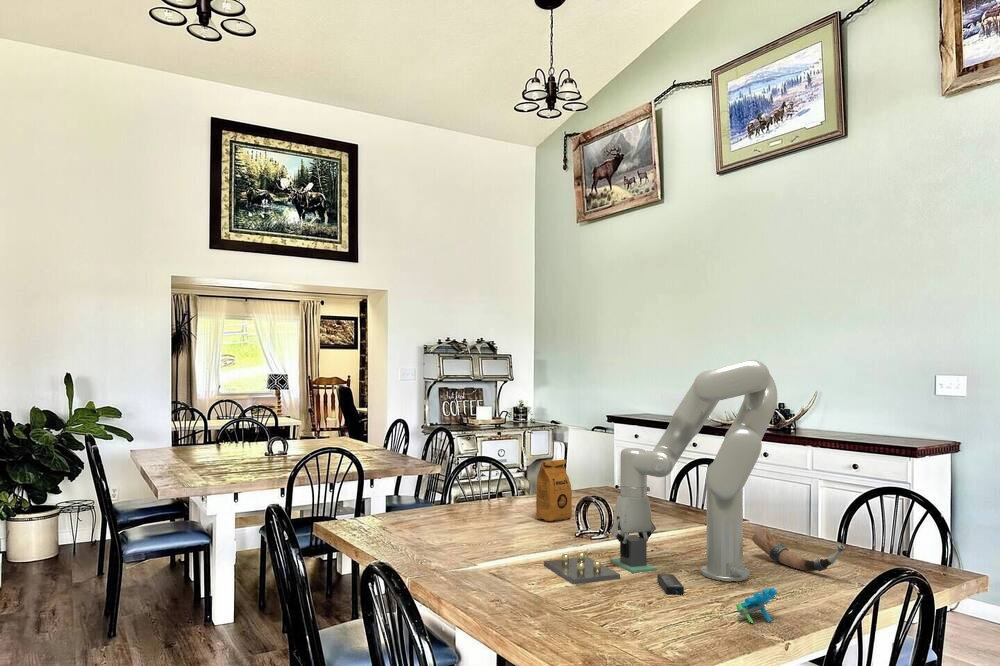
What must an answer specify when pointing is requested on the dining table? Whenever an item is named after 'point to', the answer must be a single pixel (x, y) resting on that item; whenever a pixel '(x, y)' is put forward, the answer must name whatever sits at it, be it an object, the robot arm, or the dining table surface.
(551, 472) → the coffee package
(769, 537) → the drinking horn
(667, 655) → the dining table surface
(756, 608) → the blue toy dinosaur
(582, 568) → the plate
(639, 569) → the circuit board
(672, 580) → the multiport hub
